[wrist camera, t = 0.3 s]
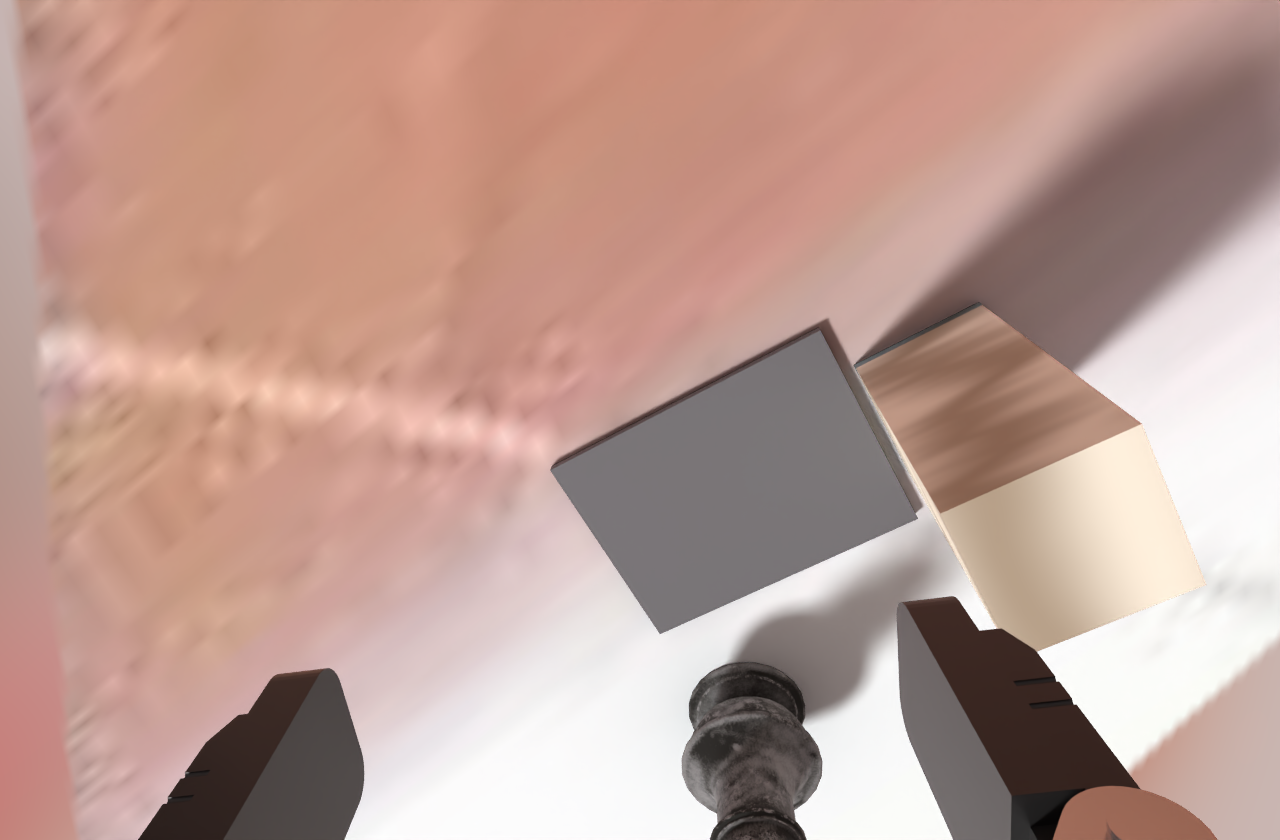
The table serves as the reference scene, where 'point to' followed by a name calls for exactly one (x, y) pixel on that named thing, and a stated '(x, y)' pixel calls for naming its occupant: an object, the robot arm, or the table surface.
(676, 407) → the gray rectangular block
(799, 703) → the salt shaker
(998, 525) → the birch block
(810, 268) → the table surface
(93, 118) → the table surface
